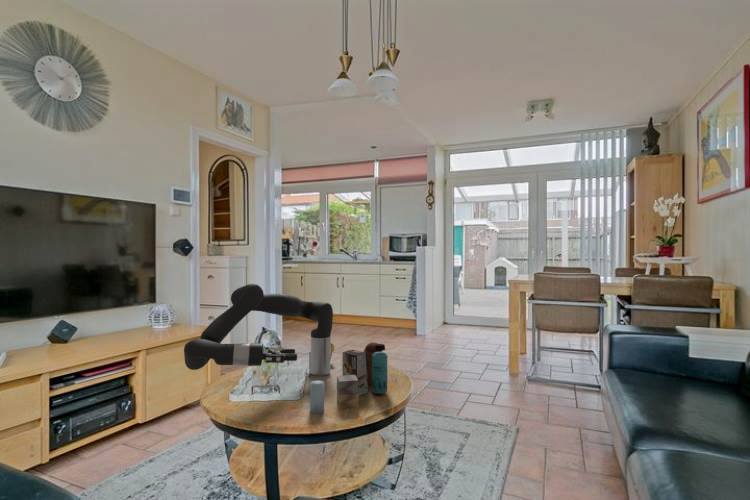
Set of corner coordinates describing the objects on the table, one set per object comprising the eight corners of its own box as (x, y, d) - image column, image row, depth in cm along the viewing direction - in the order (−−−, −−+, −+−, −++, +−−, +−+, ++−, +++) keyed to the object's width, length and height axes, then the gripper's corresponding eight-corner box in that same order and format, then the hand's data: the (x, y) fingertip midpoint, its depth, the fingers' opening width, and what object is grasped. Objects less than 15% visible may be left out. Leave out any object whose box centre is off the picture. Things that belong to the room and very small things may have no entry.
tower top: (339, 395, 150) (339, 381, 150) (336, 389, 157) (336, 375, 157) (358, 393, 151) (358, 380, 151) (355, 387, 158) (355, 374, 158)
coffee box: (368, 392, 167) (368, 352, 168) (357, 396, 163) (357, 355, 163) (352, 387, 174) (352, 349, 174) (341, 391, 169) (341, 351, 169)
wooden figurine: (388, 386, 175) (388, 343, 175) (376, 389, 171) (376, 346, 171) (370, 379, 184) (370, 339, 184) (359, 382, 180) (359, 341, 180)
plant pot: (335, 361, 216) (335, 342, 216) (332, 366, 206) (332, 346, 206) (315, 360, 217) (316, 341, 217) (311, 365, 207) (311, 346, 207)
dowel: (307, 411, 147) (307, 383, 147) (316, 407, 151) (316, 379, 151) (317, 414, 144) (317, 385, 144) (327, 410, 148) (327, 382, 149)
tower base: (339, 408, 150) (339, 395, 150) (337, 402, 157) (337, 388, 157) (358, 407, 151) (358, 393, 151) (355, 400, 158) (355, 387, 158)
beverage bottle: (371, 391, 169) (371, 342, 169) (387, 391, 168) (388, 342, 169) (370, 397, 162) (371, 346, 162) (387, 397, 162) (388, 346, 162)
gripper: (248, 347, 134) (298, 347, 139) (249, 339, 148) (294, 340, 152) (246, 370, 134) (297, 370, 138) (247, 360, 148) (293, 360, 152)
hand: (295, 354), depth 145 cm, fingers open, 8 cm apart
